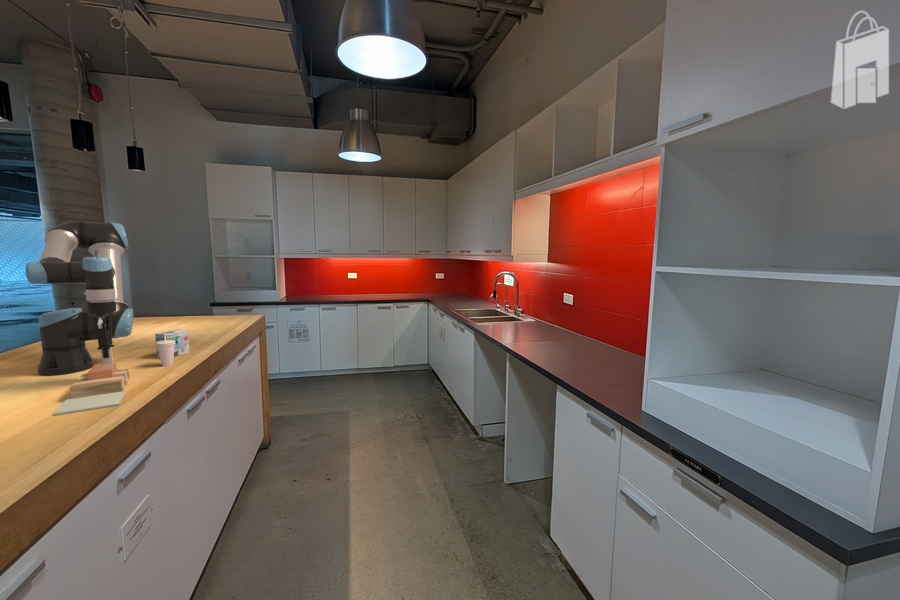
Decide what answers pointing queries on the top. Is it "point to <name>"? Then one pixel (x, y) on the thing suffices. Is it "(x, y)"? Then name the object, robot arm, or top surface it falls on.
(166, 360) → the smoothie
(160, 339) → the light bulb box
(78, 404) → the mat
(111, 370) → the tile
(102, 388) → the deck
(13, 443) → the top surface
